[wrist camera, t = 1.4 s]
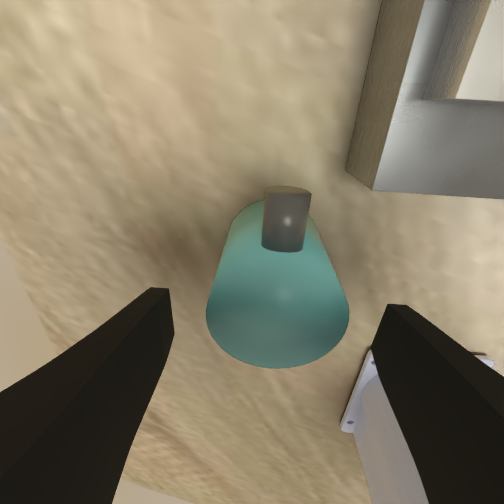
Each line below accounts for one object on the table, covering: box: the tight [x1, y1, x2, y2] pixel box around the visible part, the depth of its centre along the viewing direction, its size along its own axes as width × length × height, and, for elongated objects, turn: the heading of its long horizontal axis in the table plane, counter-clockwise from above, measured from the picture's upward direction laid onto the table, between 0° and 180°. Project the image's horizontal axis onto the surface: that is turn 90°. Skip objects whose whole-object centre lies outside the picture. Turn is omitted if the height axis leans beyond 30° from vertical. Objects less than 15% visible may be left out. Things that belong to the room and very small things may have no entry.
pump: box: [206, 186, 349, 368], centre depth 11 cm, size 6×5×6 cm
